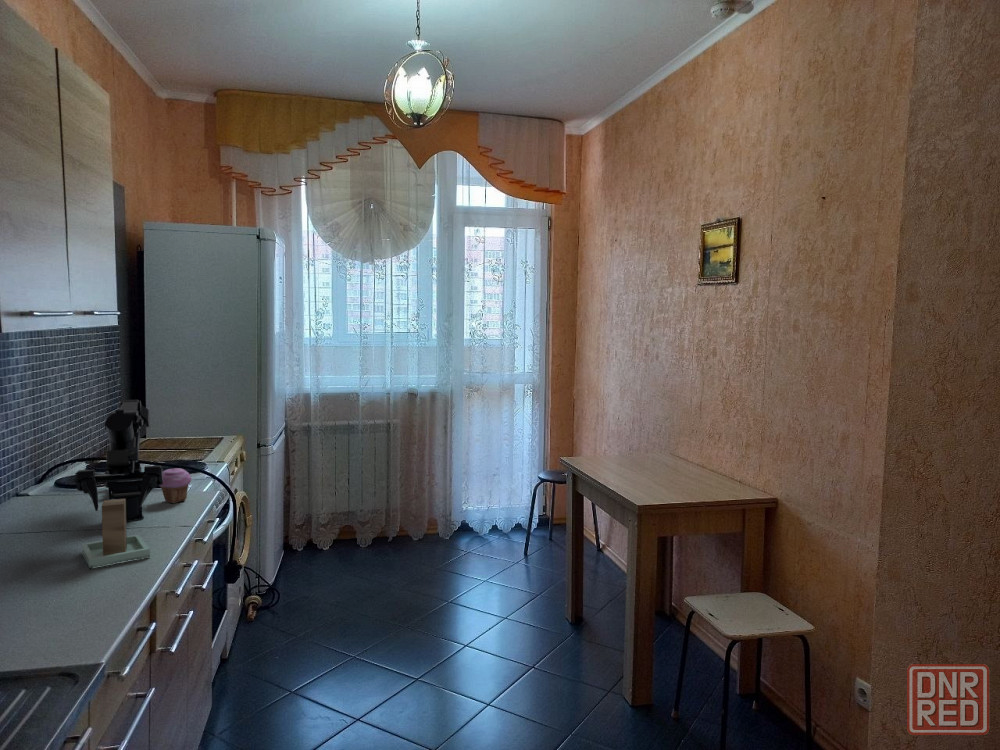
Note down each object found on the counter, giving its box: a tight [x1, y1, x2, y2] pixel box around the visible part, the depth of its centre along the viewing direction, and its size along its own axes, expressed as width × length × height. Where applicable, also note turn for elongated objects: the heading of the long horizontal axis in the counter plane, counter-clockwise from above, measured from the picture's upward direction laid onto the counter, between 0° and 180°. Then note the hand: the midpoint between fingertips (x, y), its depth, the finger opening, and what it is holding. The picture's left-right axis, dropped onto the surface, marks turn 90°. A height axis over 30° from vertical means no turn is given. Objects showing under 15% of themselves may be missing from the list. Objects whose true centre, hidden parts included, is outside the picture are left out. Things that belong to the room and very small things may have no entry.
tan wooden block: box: [101, 499, 128, 556], centre depth 154 cm, size 4×4×12 cm
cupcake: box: [158, 467, 192, 504], centre depth 197 cm, size 9×9×10 cm
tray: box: [81, 534, 151, 569], centre depth 154 cm, size 12×12×2 cm
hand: (118, 508), depth 161 cm, fingers open, 9 cm apart
